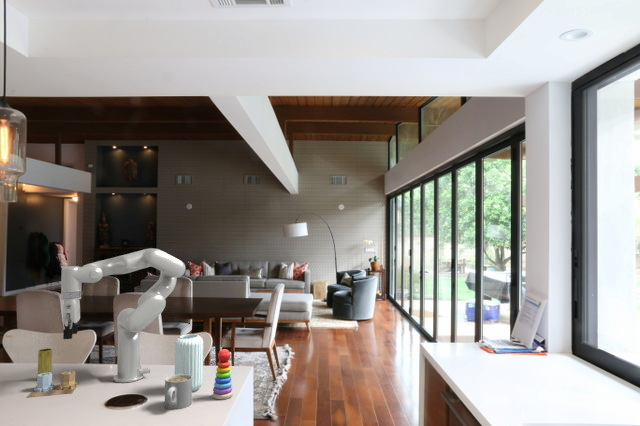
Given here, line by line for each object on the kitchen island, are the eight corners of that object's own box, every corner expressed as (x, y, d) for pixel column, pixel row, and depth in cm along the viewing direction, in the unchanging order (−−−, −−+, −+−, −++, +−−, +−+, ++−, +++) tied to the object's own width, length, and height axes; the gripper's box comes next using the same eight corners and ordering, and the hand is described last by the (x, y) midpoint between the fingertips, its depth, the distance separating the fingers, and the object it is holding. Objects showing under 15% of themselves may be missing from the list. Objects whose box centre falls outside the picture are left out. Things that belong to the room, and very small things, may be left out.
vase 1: (44, 385, 194) (45, 351, 194) (32, 384, 195) (33, 351, 196) (55, 380, 200) (56, 348, 200) (43, 379, 201) (45, 347, 202)
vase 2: (194, 395, 182) (195, 339, 183) (169, 393, 184) (170, 338, 185) (207, 385, 193) (208, 333, 194) (182, 384, 195) (183, 332, 196)
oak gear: (78, 383, 191) (79, 369, 191) (75, 389, 184) (75, 374, 185) (60, 385, 189) (60, 370, 189) (56, 390, 182) (56, 375, 183)
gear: (52, 385, 189) (53, 370, 189) (55, 389, 184) (56, 374, 184) (33, 388, 185) (33, 374, 185) (35, 393, 179) (36, 378, 180)
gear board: (79, 386, 192) (80, 368, 193) (71, 397, 179) (72, 378, 179) (37, 389, 188) (37, 371, 188) (26, 401, 174) (26, 382, 175)
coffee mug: (175, 398, 178) (175, 373, 178) (196, 401, 175) (197, 375, 175) (152, 411, 165) (153, 383, 166) (175, 414, 162) (176, 386, 162)
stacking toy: (222, 401, 174) (223, 353, 175) (208, 397, 178) (208, 350, 180) (236, 395, 181) (237, 348, 182) (222, 392, 185) (222, 346, 186)
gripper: (76, 297, 182) (76, 340, 181) (85, 292, 199) (84, 331, 198) (56, 298, 180) (55, 341, 179) (66, 293, 196) (65, 332, 196)
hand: (70, 336), depth 189 cm, fingers open, 9 cm apart
